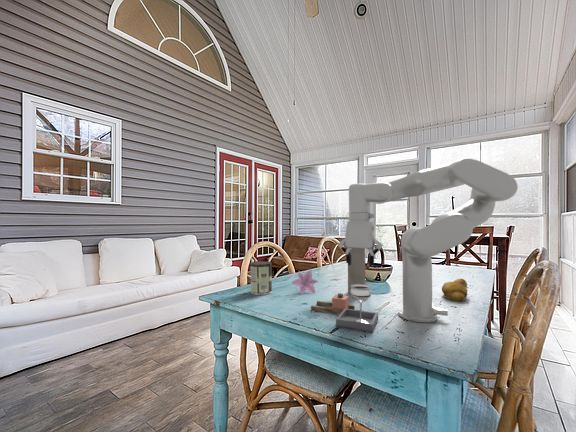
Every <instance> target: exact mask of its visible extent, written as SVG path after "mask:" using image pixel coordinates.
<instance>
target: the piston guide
mask: <svg viewBox="0 0 576 432" xmlns="http://www.w3.org/2000/svg"><path fill="white" fill-rule="evenodd" d="M355 308H356V306H355V304H354V305H353V304H349V309H353V310H356V309H355ZM310 310H311V313H312V314H314V313H315V312H321V313H322V312H323V313H327V314H335V315H340V314H341V312H342V311H343V310H342V309H334V308H332V301H331V302H330V301H323V300H317V301H316V305H311V306H310Z"/></svg>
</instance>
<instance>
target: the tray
mask: <svg viewBox="0 0 576 432" xmlns="http://www.w3.org/2000/svg"><path fill="white" fill-rule="evenodd" d="M356 319H360V309H354V310H353V309H344V310H343V311H342V312H341V314H338V316H337V317H336V318H335V326H336V328H339V329H346V330H352V331H358V332H366V333H372V334H373V333H374V331H375V329H376V326H377V324H378V322H379V312H374V311H365V310H362V318H361V319H363V320H366V321H368V322H369V323H364V322H358V321H354V320H356Z"/></svg>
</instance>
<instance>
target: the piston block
mask: <svg viewBox="0 0 576 432" xmlns="http://www.w3.org/2000/svg"><path fill="white" fill-rule="evenodd" d="M331 303H332V307H331V308H334V309H342V310H344V309H349V305H350V303H349V295H344V293H341V292H338V293H337V294H335V295H334V296H333V297H332V298H331Z"/></svg>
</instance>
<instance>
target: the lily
mask: <svg viewBox="0 0 576 432" xmlns="http://www.w3.org/2000/svg"><path fill="white" fill-rule="evenodd" d="M297 277H298V278H296V279H294V280H293V281H291V284H292V285H294V286H296V287H297V286H298V287H300V288H299V294H300V295H302V294H304V293H305V291H308V292H310V293H311V294H314V295H316V289H315V287H314V286H315V285H316V284H318V283H319V280H316V279H313V273H312V269H309V270H308V271H306V272H305V273H304V274H302V273H301V272H298V271H297Z"/></svg>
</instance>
